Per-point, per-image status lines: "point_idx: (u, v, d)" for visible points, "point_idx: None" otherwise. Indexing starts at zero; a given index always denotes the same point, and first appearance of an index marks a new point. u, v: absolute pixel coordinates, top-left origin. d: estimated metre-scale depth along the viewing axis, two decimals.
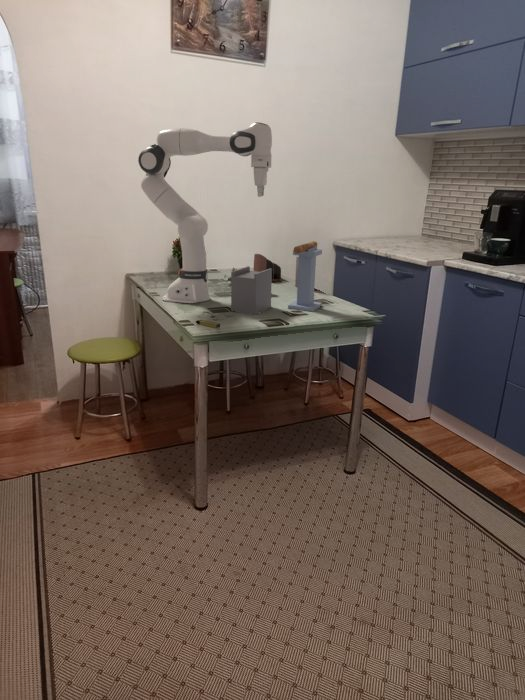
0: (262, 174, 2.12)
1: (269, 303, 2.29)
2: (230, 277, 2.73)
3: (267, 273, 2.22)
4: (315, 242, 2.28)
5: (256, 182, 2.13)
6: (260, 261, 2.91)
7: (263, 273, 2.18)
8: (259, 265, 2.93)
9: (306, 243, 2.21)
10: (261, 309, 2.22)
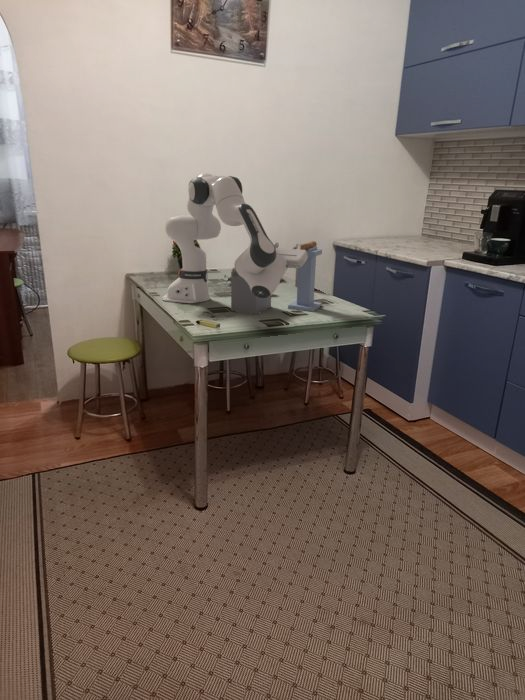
0: None
1: (269, 303, 2.29)
2: (230, 277, 2.73)
3: None
4: (314, 241, 2.28)
5: None
6: None
7: None
8: None
9: (305, 243, 2.21)
10: (261, 309, 2.22)
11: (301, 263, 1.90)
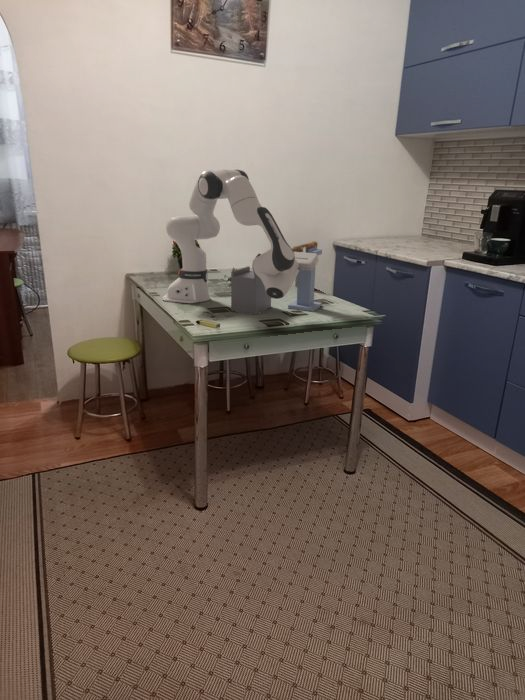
0: None
1: (269, 303, 2.29)
2: (230, 277, 2.73)
3: None
4: (315, 242, 2.28)
5: None
6: None
7: None
8: None
9: (306, 243, 2.21)
10: (261, 309, 2.22)
11: (312, 266, 2.03)
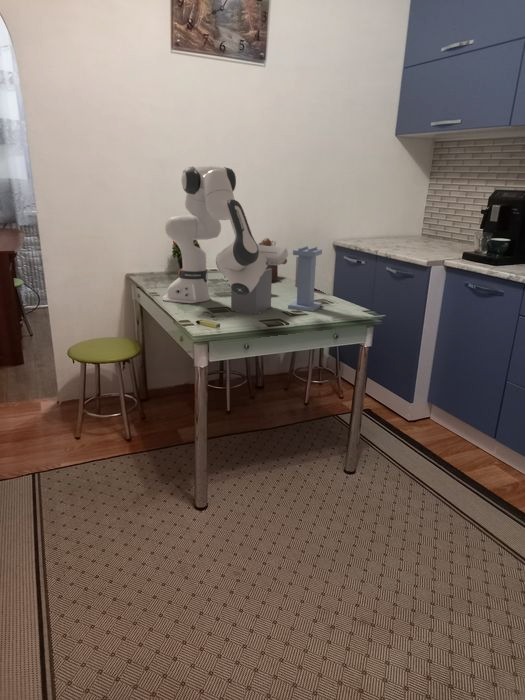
0: None
1: (269, 303, 2.29)
2: None
3: (267, 273, 2.22)
4: None
5: None
6: None
7: (263, 273, 2.18)
8: None
9: None
10: (261, 309, 2.22)
11: (281, 260, 1.92)
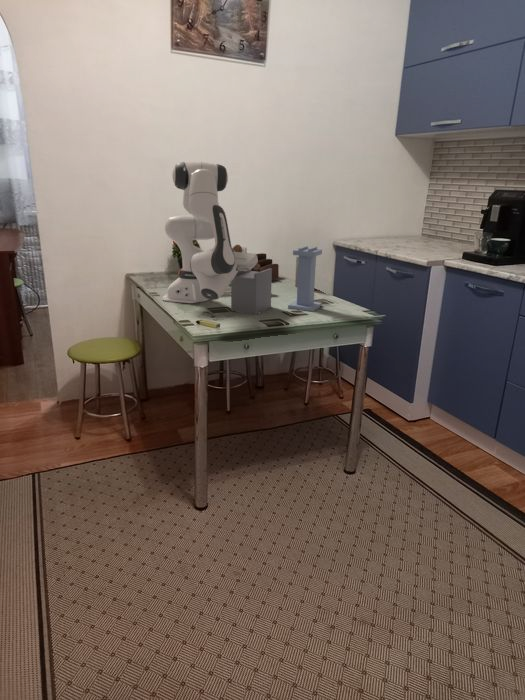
0: None
1: (269, 303, 2.29)
2: None
3: (267, 273, 2.22)
4: (258, 264, 2.23)
5: None
6: None
7: (263, 273, 2.18)
8: None
9: None
10: (261, 309, 2.22)
11: (250, 266, 1.97)
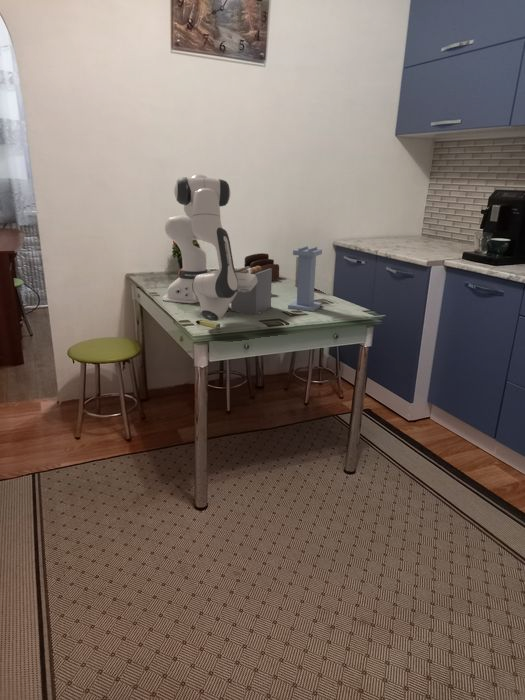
0: None
1: (269, 303, 2.29)
2: None
3: (267, 273, 2.22)
4: (259, 267, 2.24)
5: None
6: None
7: (263, 273, 2.18)
8: None
9: None
10: (261, 309, 2.22)
11: (250, 287, 1.99)
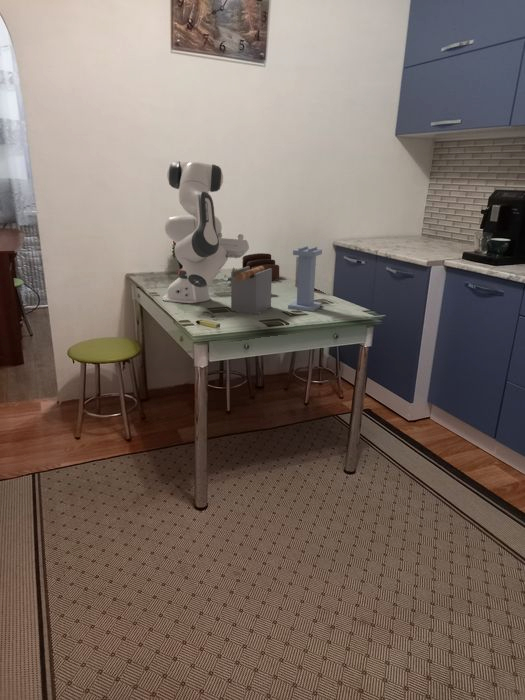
0: None
1: (269, 303, 2.29)
2: (230, 277, 2.74)
3: (267, 273, 2.22)
4: (263, 270, 2.24)
5: None
6: None
7: (263, 273, 2.18)
8: None
9: (254, 271, 2.16)
10: (261, 309, 2.22)
11: (241, 253, 1.87)
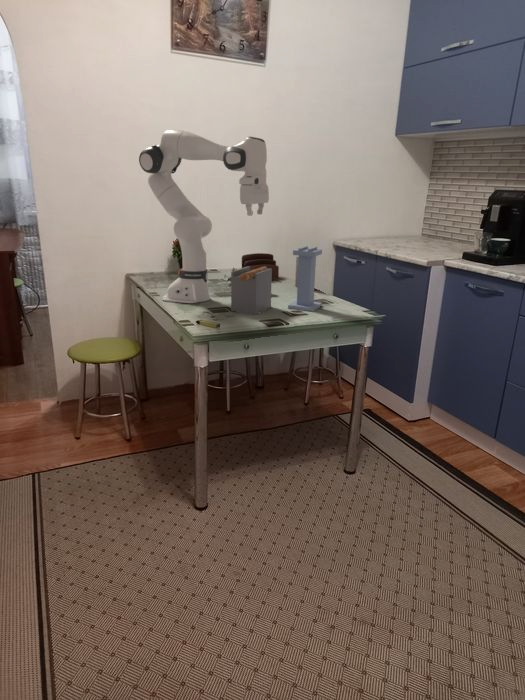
0: (247, 192, 1.98)
1: (269, 303, 2.29)
2: (230, 277, 2.74)
3: (267, 273, 2.22)
4: None
5: (241, 200, 2.00)
6: None
7: (263, 273, 2.18)
8: None
9: None
10: (261, 309, 2.22)
11: None
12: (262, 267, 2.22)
